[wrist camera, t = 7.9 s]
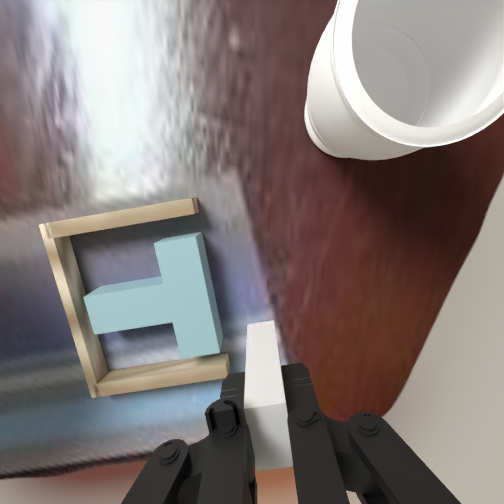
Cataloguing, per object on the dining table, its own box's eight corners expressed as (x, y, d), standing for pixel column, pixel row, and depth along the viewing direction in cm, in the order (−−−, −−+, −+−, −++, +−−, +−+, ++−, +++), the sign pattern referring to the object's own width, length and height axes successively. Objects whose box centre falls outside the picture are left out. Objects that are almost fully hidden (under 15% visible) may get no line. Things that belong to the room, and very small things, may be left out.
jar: (370, 185, 30) (479, 178, 16) (276, 144, 30) (297, 96, 15) (420, 79, 28) (599, -43, 14) (321, 32, 28) (398, -148, 13)
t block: (91, 250, 32) (71, 257, 28) (202, 231, 31) (195, 236, 28) (119, 352, 34) (104, 370, 31) (223, 336, 34) (219, 352, 30)
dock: (55, 222, 31) (38, 224, 29) (196, 197, 31) (191, 198, 28) (103, 383, 35) (91, 397, 32) (230, 364, 34) (228, 377, 32)
